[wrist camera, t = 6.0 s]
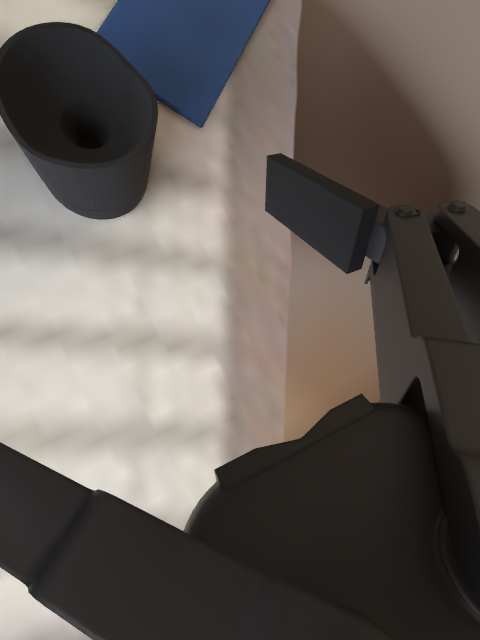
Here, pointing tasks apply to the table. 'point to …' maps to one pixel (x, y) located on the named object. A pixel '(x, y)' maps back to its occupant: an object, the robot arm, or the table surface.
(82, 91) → the pen holder
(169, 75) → the blue cloth
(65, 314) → the table surface
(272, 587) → the robot arm
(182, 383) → the table surface
